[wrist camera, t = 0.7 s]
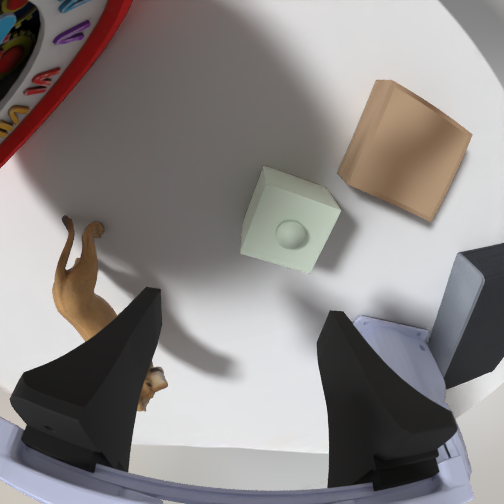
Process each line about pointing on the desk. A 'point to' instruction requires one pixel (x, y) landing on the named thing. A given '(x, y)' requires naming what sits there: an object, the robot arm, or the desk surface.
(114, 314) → the lion figurine
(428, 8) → the desk surface
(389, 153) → the base brick
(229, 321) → the desk surface
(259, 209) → the sage brick
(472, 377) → the external hard drive
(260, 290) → the desk surface
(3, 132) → the toy clock
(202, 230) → the desk surface
